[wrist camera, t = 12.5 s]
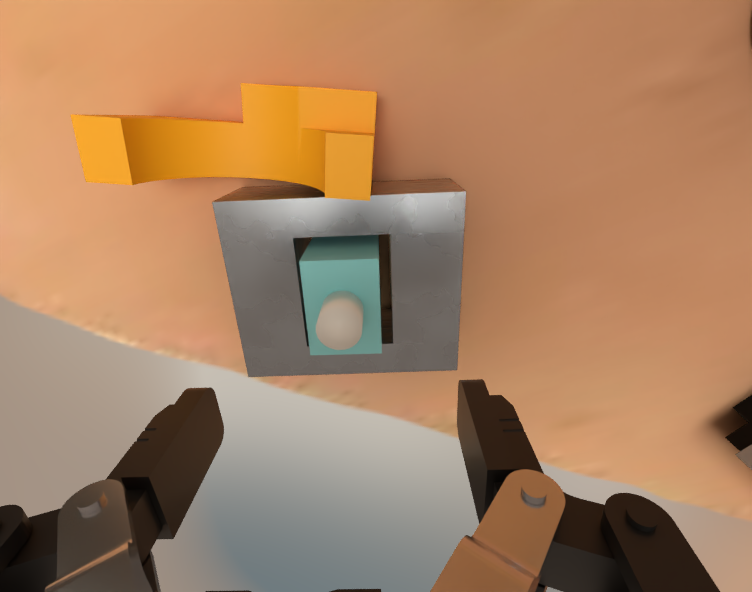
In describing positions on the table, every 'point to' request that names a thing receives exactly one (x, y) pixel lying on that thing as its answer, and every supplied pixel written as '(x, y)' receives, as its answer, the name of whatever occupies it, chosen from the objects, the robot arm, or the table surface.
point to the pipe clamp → (243, 142)
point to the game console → (743, 432)
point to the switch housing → (345, 218)
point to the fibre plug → (342, 294)
